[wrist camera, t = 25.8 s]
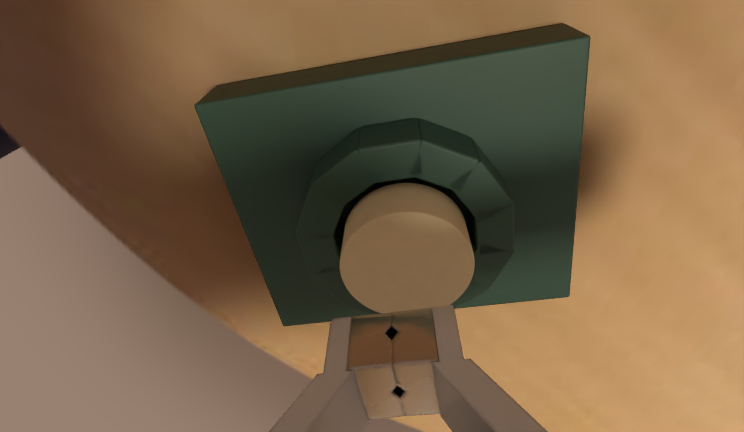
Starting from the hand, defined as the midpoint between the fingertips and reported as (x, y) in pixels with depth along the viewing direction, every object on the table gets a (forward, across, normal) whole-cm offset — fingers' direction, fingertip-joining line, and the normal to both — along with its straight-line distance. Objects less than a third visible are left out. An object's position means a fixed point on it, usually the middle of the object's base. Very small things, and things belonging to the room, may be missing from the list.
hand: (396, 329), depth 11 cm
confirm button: (+4, 0, 0) cm, 4 cm away
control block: (+8, 0, 0) cm, 8 cm away
